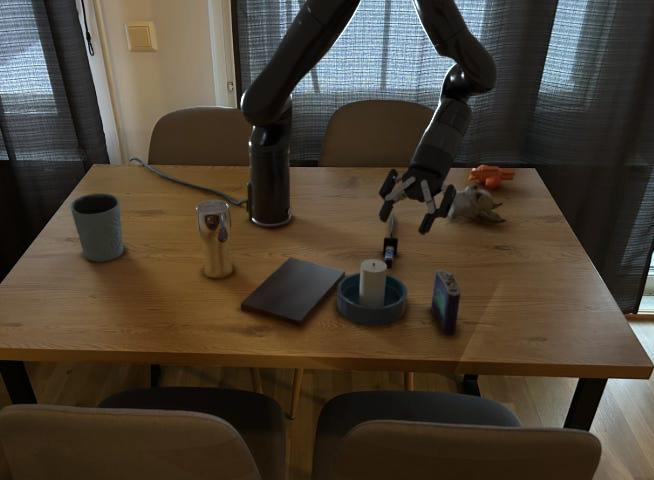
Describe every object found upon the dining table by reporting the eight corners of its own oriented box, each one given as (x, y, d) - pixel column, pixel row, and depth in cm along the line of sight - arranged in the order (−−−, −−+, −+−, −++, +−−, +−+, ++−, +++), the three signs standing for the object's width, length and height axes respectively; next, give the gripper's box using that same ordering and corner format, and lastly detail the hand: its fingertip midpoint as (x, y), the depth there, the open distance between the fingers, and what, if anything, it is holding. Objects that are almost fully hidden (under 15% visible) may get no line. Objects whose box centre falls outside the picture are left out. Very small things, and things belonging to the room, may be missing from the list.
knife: (390, 279, 130) (393, 259, 128) (376, 278, 131) (377, 258, 129) (403, 226, 157) (405, 209, 155) (391, 225, 157) (392, 207, 155)
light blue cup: (98, 238, 148) (88, 190, 142) (136, 245, 146) (128, 196, 139) (71, 259, 141) (60, 209, 134) (111, 267, 138) (101, 216, 131)
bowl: (325, 315, 123) (326, 297, 120) (353, 282, 132) (354, 265, 130) (390, 334, 117) (392, 316, 115) (414, 298, 127) (416, 281, 125)
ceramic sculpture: (445, 173, 156) (508, 180, 155) (439, 205, 161) (499, 212, 160) (446, 191, 148) (512, 199, 146) (439, 225, 153) (503, 232, 151)
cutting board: (240, 309, 124) (240, 303, 123) (290, 262, 139) (290, 256, 138) (300, 327, 119) (300, 321, 118) (345, 277, 134) (345, 271, 133)
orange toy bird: (514, 161, 171) (468, 160, 171) (519, 180, 166) (472, 179, 166) (509, 175, 175) (465, 175, 175) (514, 194, 170) (468, 194, 170)
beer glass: (239, 265, 138) (235, 201, 130) (226, 281, 133) (220, 216, 124) (210, 260, 140) (204, 197, 131) (196, 276, 134) (188, 211, 126)
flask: (428, 308, 124) (434, 261, 118) (443, 307, 124) (450, 259, 118) (443, 337, 117) (451, 288, 110) (459, 336, 117) (467, 286, 111)
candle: (354, 308, 124) (356, 265, 118) (364, 296, 127) (367, 254, 122) (377, 315, 122) (381, 271, 117) (387, 302, 125) (390, 260, 120)
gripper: (398, 135, 125) (363, 209, 124) (466, 151, 117) (429, 230, 116) (409, 153, 131) (376, 224, 130) (474, 169, 124) (439, 244, 123)
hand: (401, 227), depth 123 cm, fingers open, 8 cm apart
